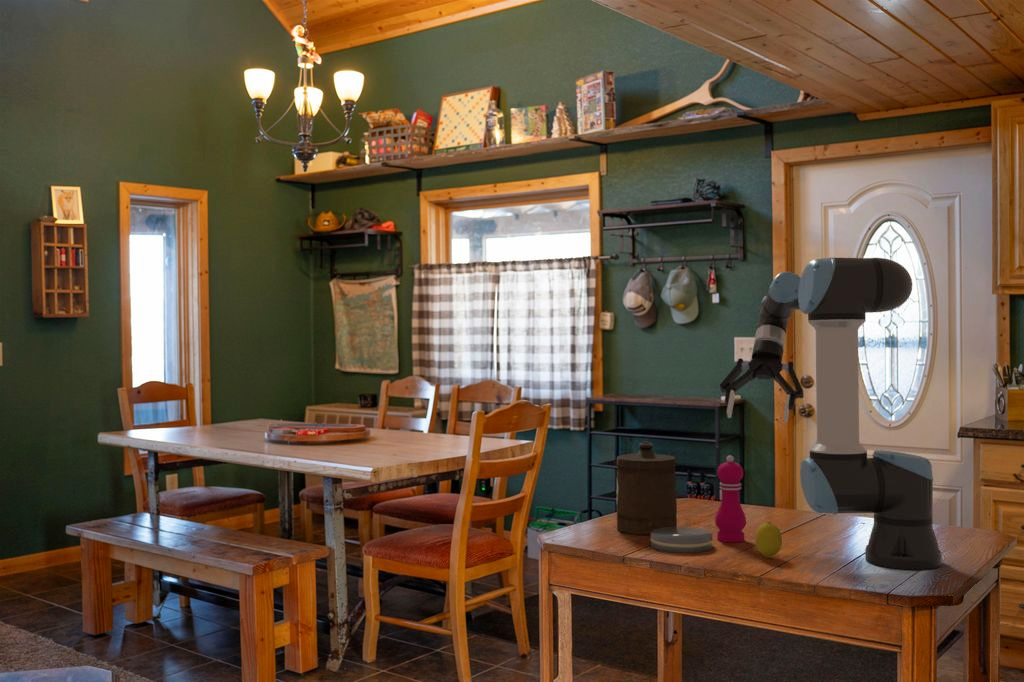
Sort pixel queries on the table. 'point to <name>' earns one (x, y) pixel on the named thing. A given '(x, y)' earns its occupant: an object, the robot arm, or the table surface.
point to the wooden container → (646, 491)
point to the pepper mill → (730, 503)
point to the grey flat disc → (681, 539)
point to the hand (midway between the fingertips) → (756, 417)
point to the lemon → (768, 539)
